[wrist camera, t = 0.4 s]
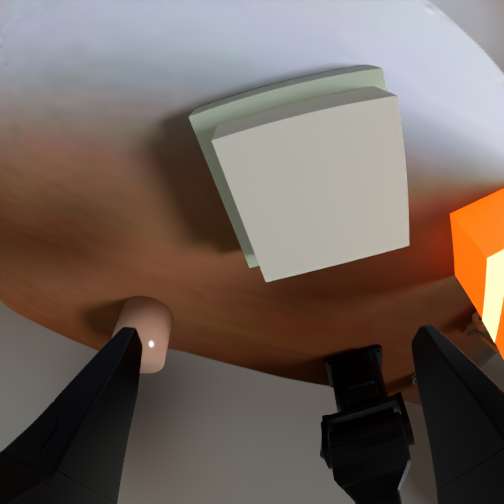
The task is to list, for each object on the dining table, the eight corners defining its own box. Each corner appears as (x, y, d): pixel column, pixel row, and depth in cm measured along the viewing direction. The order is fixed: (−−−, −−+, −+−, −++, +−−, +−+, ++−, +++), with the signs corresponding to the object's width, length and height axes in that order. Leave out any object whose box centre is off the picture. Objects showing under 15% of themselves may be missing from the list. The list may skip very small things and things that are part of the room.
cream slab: (392, 219, 20) (409, 245, 18) (263, 252, 22) (265, 282, 19) (374, 86, 15) (396, 95, 12) (217, 125, 16) (211, 140, 14)
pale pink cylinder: (182, 327, 30) (174, 370, 26) (139, 334, 31) (128, 375, 27) (157, 291, 27) (144, 335, 23) (113, 301, 28) (97, 342, 24)
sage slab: (387, 208, 23) (401, 229, 20) (249, 243, 25) (249, 267, 22) (364, 63, 17) (381, 67, 14) (196, 106, 18) (188, 116, 16)
